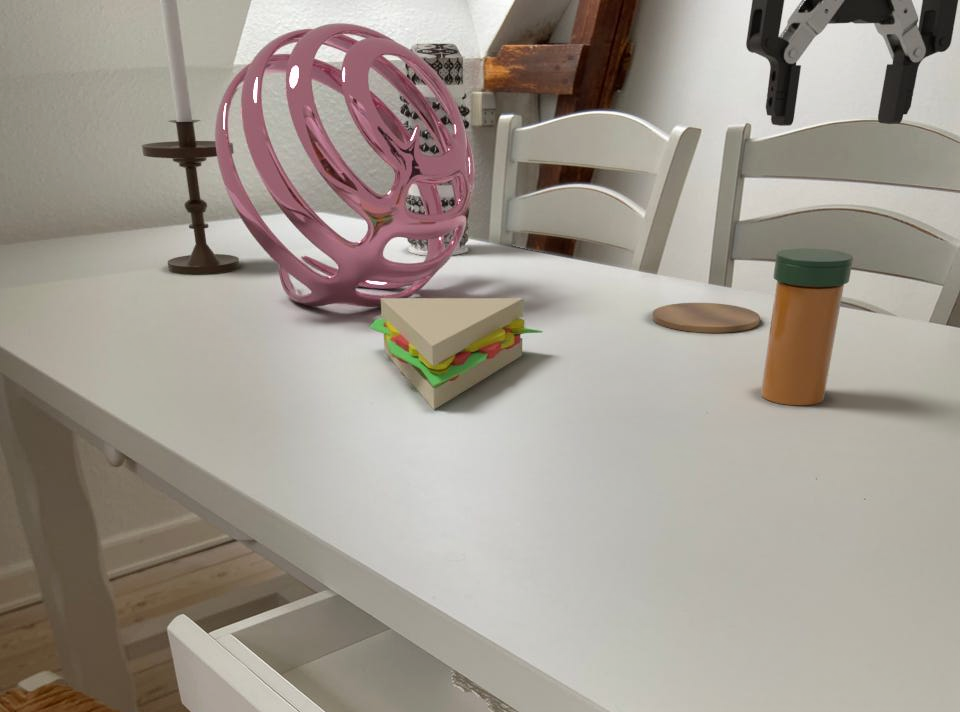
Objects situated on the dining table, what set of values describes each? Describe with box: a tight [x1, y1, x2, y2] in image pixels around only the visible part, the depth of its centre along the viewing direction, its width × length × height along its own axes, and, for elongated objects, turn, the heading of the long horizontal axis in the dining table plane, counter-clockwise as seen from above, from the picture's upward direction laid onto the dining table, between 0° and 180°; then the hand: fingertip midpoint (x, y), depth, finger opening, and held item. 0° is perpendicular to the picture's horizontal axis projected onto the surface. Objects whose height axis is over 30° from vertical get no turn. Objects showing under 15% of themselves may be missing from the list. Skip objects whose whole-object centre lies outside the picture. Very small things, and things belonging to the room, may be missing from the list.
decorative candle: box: [399, 43, 470, 256], centre depth 134 cm, size 9×9×25 cm
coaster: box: [651, 302, 761, 334], centre depth 105 cm, size 11×11×1 cm
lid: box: [773, 248, 854, 287], centre depth 77 cm, size 6×6×2 cm
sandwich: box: [369, 297, 543, 410], centre depth 86 cm, size 15×20×5 cm
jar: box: [760, 280, 845, 406], centre depth 79 cm, size 5×5×10 cm
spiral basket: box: [214, 22, 476, 308], centre depth 108 cm, size 28×28×27 cm
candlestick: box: [141, 0, 241, 275], centre depth 121 cm, size 11×11×35 cm
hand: (836, 124), depth 72 cm, fingers open, 8 cm apart
